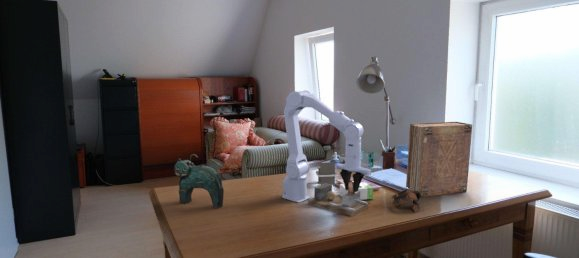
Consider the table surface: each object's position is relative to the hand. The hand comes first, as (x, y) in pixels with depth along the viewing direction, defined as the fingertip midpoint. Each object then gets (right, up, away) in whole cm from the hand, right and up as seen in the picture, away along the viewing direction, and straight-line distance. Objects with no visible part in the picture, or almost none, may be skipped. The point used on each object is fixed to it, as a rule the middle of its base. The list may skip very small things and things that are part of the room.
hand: (351, 190), depth 144 cm
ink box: (+10, -3, +16) cm, 19 cm away
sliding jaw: (0, -6, +1) cm, 6 cm away
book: (+41, -4, +24) cm, 48 cm away
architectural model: (-6, -3, +34) cm, 35 cm away
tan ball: (-7, -3, +6) cm, 10 cm away
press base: (-5, -7, +5) cm, 10 cm away
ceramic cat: (-58, -6, +5) cm, 59 cm away
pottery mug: (+23, -8, +4) cm, 24 cm away
